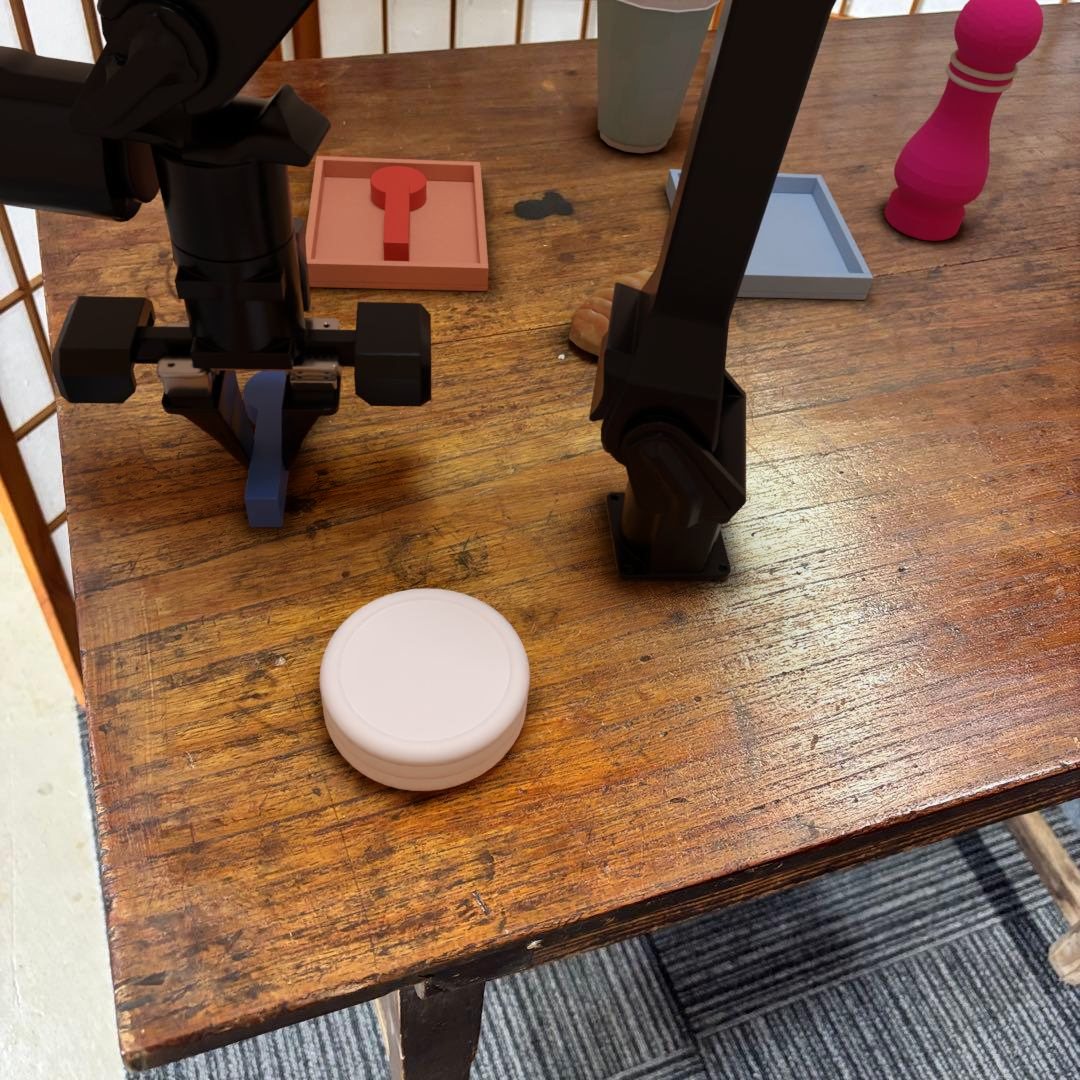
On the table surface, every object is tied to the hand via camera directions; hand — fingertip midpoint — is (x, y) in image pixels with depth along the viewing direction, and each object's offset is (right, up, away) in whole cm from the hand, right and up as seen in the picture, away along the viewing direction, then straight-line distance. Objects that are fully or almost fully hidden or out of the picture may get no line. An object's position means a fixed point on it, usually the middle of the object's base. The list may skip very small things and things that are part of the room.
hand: (271, 465), depth 60 cm
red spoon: (+5, +20, +19) cm, 28 cm away
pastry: (+23, +11, +13) cm, 28 cm away
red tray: (+5, +20, +19) cm, 28 cm away
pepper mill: (+48, +23, +27) cm, 60 cm away
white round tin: (+10, -13, -9) cm, 18 cm away
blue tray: (+34, +20, +23) cm, 45 cm away
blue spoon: (0, +1, +2) cm, 2 cm away
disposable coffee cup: (+24, +32, +33) cm, 52 cm away
